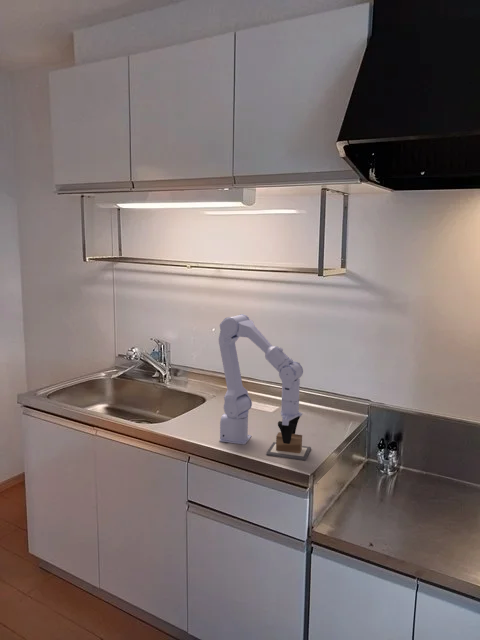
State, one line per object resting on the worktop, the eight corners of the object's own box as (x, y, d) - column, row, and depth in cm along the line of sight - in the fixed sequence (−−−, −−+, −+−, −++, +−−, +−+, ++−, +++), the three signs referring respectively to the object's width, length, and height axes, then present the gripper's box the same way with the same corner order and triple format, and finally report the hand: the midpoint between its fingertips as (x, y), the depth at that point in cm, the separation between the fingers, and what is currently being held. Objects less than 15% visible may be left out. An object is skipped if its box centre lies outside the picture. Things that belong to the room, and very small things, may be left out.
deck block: (299, 453, 168) (300, 438, 168) (276, 450, 171) (276, 435, 170) (301, 449, 172) (302, 435, 171) (278, 446, 174) (278, 432, 173)
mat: (266, 455, 168) (266, 453, 168) (273, 443, 178) (273, 441, 178) (305, 460, 165) (305, 458, 165) (310, 448, 174) (310, 446, 174)
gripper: (298, 407, 160) (296, 448, 163) (306, 394, 174) (304, 432, 176) (276, 405, 162) (275, 445, 165) (285, 392, 176) (284, 430, 178)
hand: (289, 438), depth 171 cm, fingers open, 7 cm apart
